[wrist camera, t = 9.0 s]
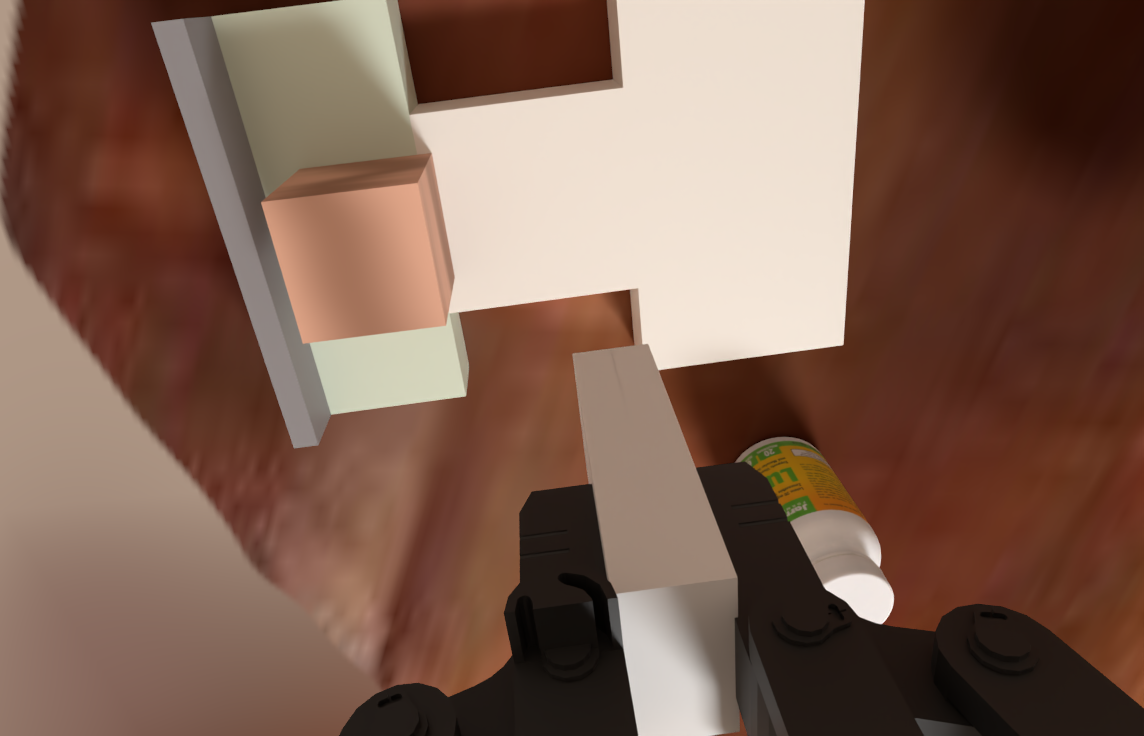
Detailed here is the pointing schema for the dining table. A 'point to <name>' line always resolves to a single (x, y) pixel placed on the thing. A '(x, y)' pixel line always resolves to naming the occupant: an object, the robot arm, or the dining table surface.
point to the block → (363, 247)
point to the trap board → (547, 179)
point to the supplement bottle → (826, 523)
